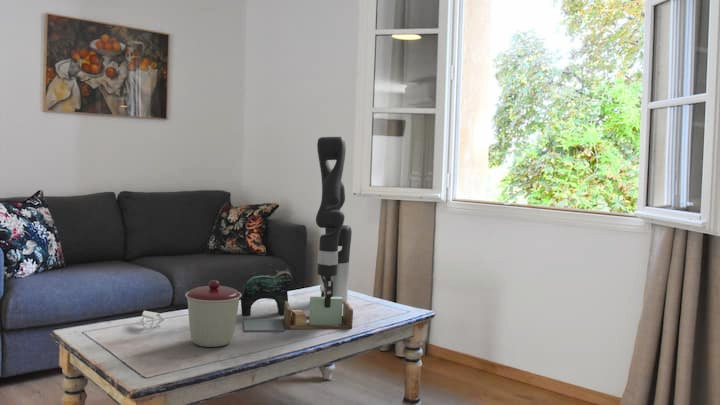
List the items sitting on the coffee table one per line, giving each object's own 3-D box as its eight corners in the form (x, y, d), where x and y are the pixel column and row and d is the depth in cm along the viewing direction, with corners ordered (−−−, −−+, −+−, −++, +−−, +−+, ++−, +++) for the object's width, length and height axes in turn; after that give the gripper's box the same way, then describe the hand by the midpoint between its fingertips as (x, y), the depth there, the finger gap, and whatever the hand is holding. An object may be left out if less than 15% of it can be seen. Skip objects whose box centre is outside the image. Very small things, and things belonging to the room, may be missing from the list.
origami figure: (169, 328, 227) (170, 314, 226) (149, 332, 220) (149, 318, 220) (150, 321, 234) (150, 307, 234) (129, 325, 227) (129, 311, 227)
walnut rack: (283, 318, 247) (284, 300, 246) (345, 318, 252) (346, 300, 251) (287, 329, 233) (288, 310, 232) (352, 328, 238) (353, 310, 237)
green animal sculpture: (289, 311, 257) (291, 262, 255) (292, 315, 251) (294, 265, 249) (239, 313, 251) (241, 262, 249) (241, 317, 245) (243, 265, 243)
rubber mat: (243, 320, 240) (243, 319, 240) (280, 320, 243) (280, 319, 243) (244, 331, 227) (244, 330, 227) (284, 331, 230) (284, 329, 230)
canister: (251, 342, 215) (253, 280, 213) (210, 355, 200) (212, 289, 198) (213, 331, 225) (215, 272, 223) (172, 342, 210) (173, 279, 208)
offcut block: (289, 321, 244) (290, 309, 243) (300, 321, 245) (301, 309, 245) (295, 327, 236) (295, 315, 236) (306, 326, 238) (307, 314, 238)
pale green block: (308, 322, 243) (310, 296, 242) (340, 322, 246) (341, 296, 245) (310, 324, 240) (311, 298, 239) (341, 324, 243) (342, 298, 242)
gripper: (315, 258, 247) (313, 300, 248) (320, 265, 233) (318, 309, 234) (334, 259, 249) (332, 300, 250) (340, 266, 235) (338, 309, 236)
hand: (325, 304), depth 242 cm, fingers open, 8 cm apart
